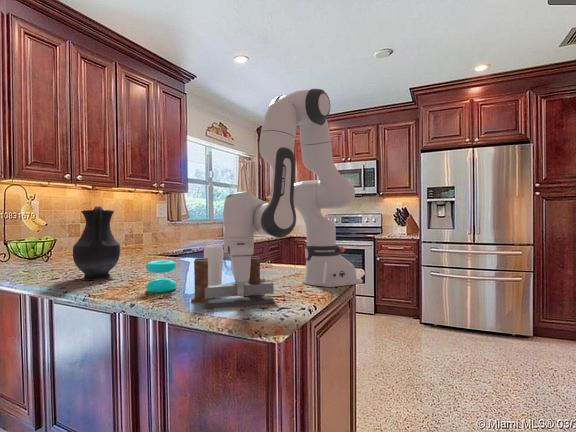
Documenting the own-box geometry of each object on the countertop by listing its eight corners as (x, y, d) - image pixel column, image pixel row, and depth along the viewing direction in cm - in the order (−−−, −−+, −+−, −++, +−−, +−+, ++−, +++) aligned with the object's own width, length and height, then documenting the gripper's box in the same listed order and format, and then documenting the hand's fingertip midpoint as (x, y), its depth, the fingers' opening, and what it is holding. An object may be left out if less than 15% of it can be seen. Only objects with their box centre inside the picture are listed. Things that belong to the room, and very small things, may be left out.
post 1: (211, 296, 107) (211, 257, 107) (211, 301, 101) (211, 260, 101) (192, 297, 106) (191, 258, 106) (191, 302, 100) (190, 261, 100)
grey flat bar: (270, 297, 105) (270, 295, 105) (274, 303, 98) (274, 301, 98) (204, 302, 100) (204, 300, 100) (204, 308, 94) (204, 306, 94)
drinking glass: (219, 290, 116) (218, 247, 116) (201, 289, 117) (200, 246, 117) (226, 285, 123) (226, 245, 123) (209, 285, 124) (208, 244, 124)
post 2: (260, 293, 111) (260, 255, 111) (263, 297, 105) (263, 258, 105) (242, 294, 110) (242, 256, 109) (244, 298, 104) (244, 259, 104)
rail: (271, 291, 103) (271, 281, 103) (273, 293, 100) (273, 283, 100) (204, 295, 99) (204, 285, 98) (204, 298, 96) (204, 287, 96)
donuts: (140, 263, 112) (153, 259, 122) (140, 293, 112) (153, 287, 122) (169, 263, 112) (180, 259, 122) (170, 293, 112) (180, 287, 122)
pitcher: (118, 272, 153) (117, 207, 152) (123, 280, 135) (122, 206, 135) (73, 276, 144) (72, 207, 144) (72, 285, 126) (70, 205, 126)
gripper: (226, 243, 109) (226, 285, 109) (230, 250, 89) (231, 302, 89) (245, 242, 110) (246, 284, 110) (254, 249, 90) (254, 300, 90)
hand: (239, 292), depth 99 cm, fingers closed on rail, 3 cm apart
